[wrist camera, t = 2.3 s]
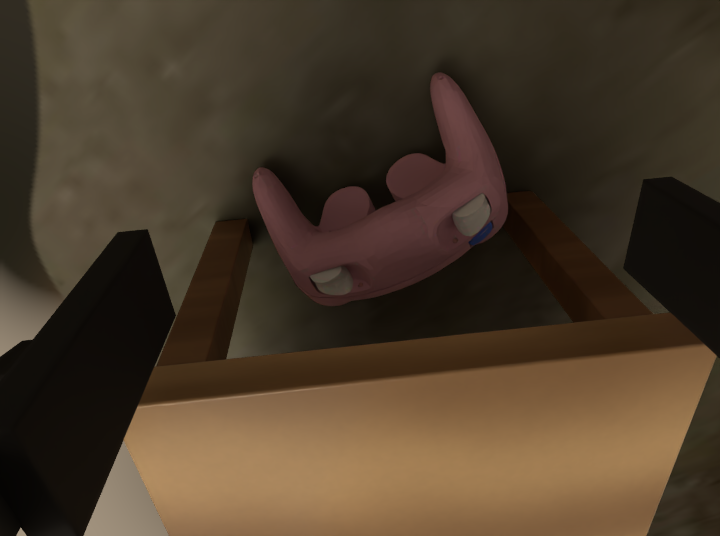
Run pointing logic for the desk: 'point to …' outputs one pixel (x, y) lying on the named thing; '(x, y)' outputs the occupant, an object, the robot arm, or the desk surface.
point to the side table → (422, 414)
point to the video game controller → (394, 214)
